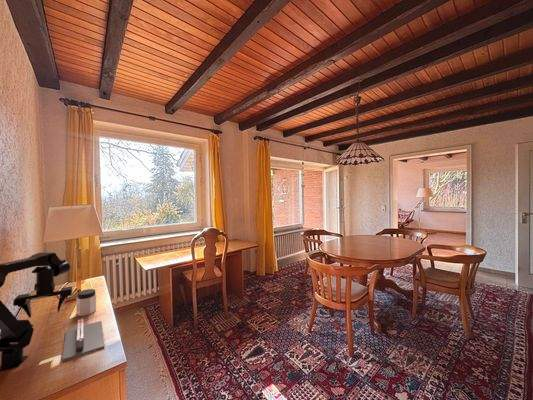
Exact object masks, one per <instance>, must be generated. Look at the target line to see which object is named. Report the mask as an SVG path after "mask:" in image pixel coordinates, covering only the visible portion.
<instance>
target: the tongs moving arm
mask: <svg viewBox="0 0 533 400" xmlns="http://www.w3.org/2000/svg"><path fill="white" fill-rule="evenodd" d="M83 325H84V318H81V319H80V326H81V338H83Z"/></svg>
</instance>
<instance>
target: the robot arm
mask: <svg viewBox="0 0 533 400" xmlns="http://www.w3.org/2000/svg"><path fill="white" fill-rule="evenodd" d="M34 267H35V268H34ZM31 268H34V269H33V270H32V271H31V274H36V281H35V283H34V287H33V290H34V291H35V292H36V293H35V294H32V295H31V294H30V292H29V293H24V294H23V293H21V294H18V295H17V296H16V297H15V298H14V299H13V302H12V303H13V304H12V305H13V306H14V307H15V306H17V307H18V308H21V309H23V310H24V312H25V313H26V315H27V316H28V318H31V317H32V308H31V307H32V306H31V301H33V300H37V299H43V298H50V297H54V296H59V298H58V305H57V313H59V312H60V309H61V307H62V304H63V303H64V301H65V299H68V298H69V297H71V296H72V294H73V287H72V286H67V287H61V289H60V290H56V291H55V289H56V283H55V277H58V276H61V275H63V274H66V273H68V272H69V271H70V270H71V265H70V263H69V262H68V261H67V259H60V257H58V255H57V254H56V252H37V253H34V254H33V255H30V256H29V257H27V258H21V259H17V260H11V261H6V262H3V263H0V289H1V288H2V287H3V285H4V284H5V282H6V278H7V276H8V275H9V274H10V273H15V272H18V271H23V270H26V269H31ZM33 334H34V325H33V324H32V323H31V321H30V320H29V319H18V318H17V317H16V316H15V315H14V314H13V313H12V312H11V310H10V309H9V308H8V307H7V306H6V304H4V302H3V301H2V300H1V299H0V353H1V354H0V356H1V357H0V363H1V364H0V371H4V370H10V369H15V368H18V367H19V366H20V365H21V364H22V363H23V362H24V361H25V360H26V359H28V357H29V355H24V349H25V348H26V347H28V346H29V345H30V343H31V340H32V337H33Z"/></svg>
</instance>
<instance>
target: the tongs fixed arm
mask: <svg viewBox="0 0 533 400" xmlns="http://www.w3.org/2000/svg"><path fill="white" fill-rule="evenodd" d="M80 326H81V319H78V320H77V327H78V330H77V341H76V352H80V351H82V350H83V349H84V339H83V338H81V339H80Z"/></svg>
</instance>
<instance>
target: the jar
mask: <svg viewBox="0 0 533 400" xmlns="http://www.w3.org/2000/svg"><path fill="white" fill-rule="evenodd" d="M76 296H77V297H76V315H78V316H79V317H83V316H89V315H92V314H93V313H94V312H95V311H97V294H96V289H94V288H90V289H89V288H88V289H83V290H80V291H79V292H78V293H77V295H76Z"/></svg>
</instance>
